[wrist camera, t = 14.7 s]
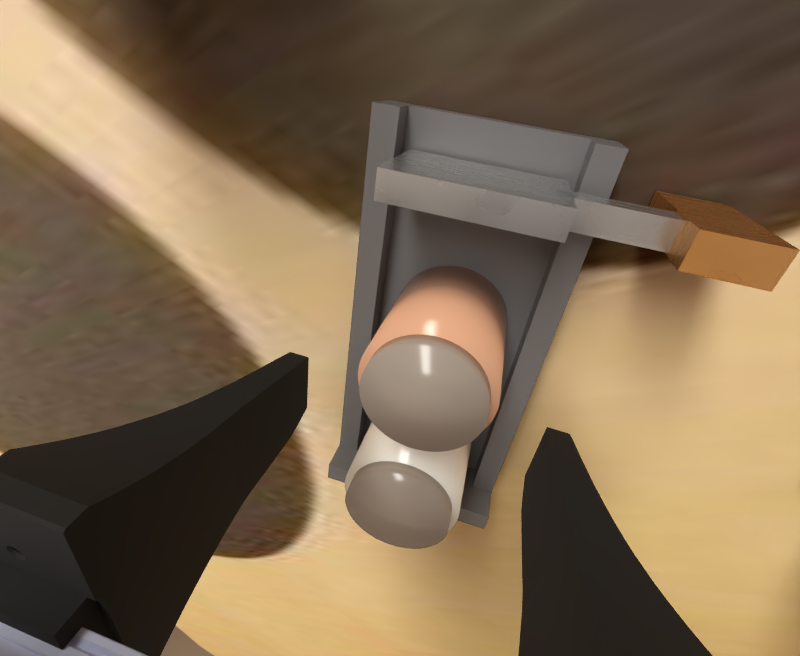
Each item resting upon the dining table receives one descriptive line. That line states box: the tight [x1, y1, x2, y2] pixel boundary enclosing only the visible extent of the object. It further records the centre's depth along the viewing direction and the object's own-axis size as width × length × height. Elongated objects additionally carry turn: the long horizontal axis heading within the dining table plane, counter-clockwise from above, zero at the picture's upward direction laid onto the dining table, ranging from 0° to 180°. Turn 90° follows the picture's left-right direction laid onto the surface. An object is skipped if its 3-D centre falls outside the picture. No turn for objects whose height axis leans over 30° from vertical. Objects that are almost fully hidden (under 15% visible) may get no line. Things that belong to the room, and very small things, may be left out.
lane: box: [328, 100, 629, 529], centre depth 19 cm, size 8×18×4 cm, turn 171°
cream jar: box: [345, 422, 471, 549], centre depth 20 cm, size 5×5×6 cm
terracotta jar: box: [358, 266, 507, 452], centre depth 17 cm, size 5×5×6 cm
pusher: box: [374, 149, 800, 292], centre depth 14 cm, size 11×1×5 cm, turn 81°
